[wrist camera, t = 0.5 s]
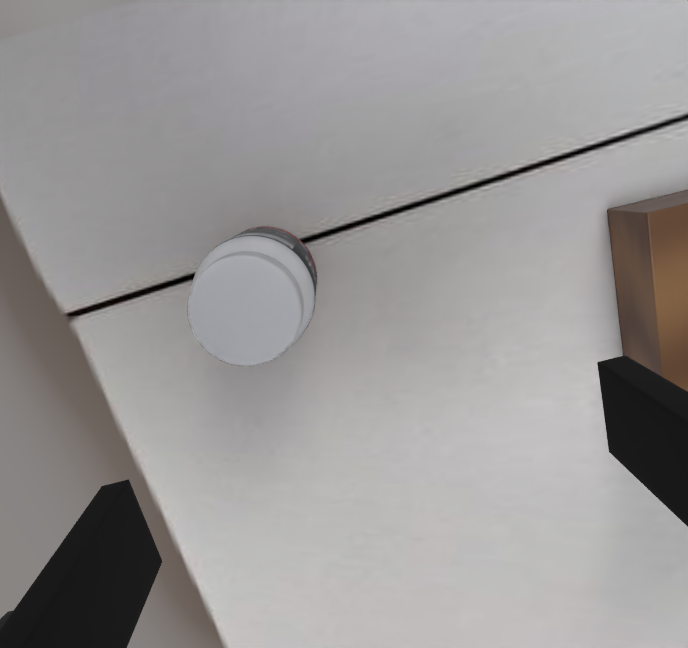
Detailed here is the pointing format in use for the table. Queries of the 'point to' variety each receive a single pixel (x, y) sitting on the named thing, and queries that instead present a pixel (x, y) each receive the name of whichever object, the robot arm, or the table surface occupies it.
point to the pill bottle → (253, 296)
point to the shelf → (653, 282)
